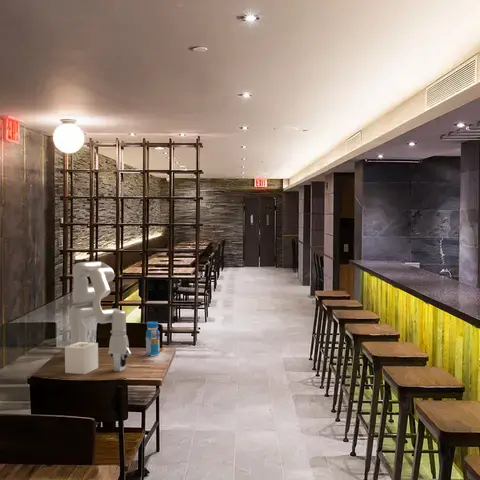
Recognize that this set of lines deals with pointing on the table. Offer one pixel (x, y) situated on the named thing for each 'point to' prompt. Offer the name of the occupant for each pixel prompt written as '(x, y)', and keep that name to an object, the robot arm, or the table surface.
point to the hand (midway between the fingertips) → (119, 365)
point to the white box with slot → (81, 357)
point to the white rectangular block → (118, 362)
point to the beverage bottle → (152, 339)
